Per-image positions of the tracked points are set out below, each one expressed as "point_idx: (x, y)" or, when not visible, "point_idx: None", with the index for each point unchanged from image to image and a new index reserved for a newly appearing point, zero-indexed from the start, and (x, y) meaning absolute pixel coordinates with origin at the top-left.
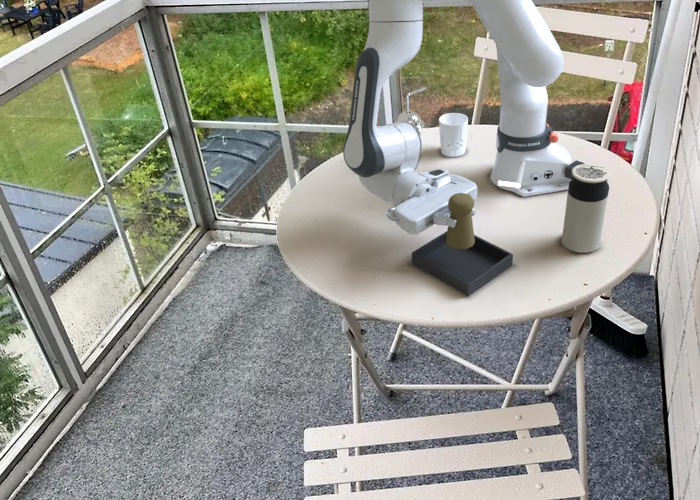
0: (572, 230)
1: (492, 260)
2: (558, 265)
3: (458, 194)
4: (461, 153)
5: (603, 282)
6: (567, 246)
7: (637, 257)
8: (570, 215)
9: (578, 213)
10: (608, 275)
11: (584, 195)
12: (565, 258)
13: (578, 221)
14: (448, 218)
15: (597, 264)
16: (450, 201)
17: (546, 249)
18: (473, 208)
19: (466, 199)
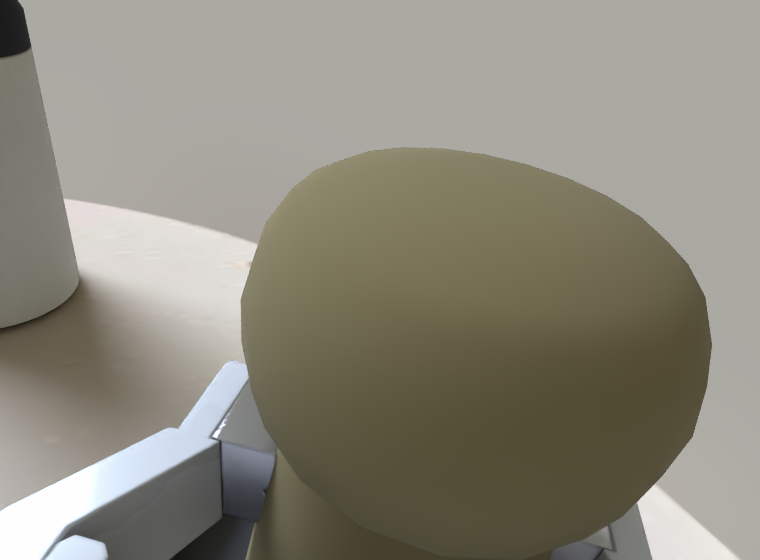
0: (42, 222)
1: (225, 535)
2: (171, 322)
3: (469, 221)
4: None
5: (227, 240)
6: (49, 303)
7: (83, 202)
8: (7, 165)
9: (31, 127)
10: (190, 235)
11: (15, 16)
12: (118, 313)
13: (43, 164)
14: (642, 540)
15: (138, 253)
16: (702, 345)
17: (54, 369)
18: (236, 364)
19: (496, 157)
